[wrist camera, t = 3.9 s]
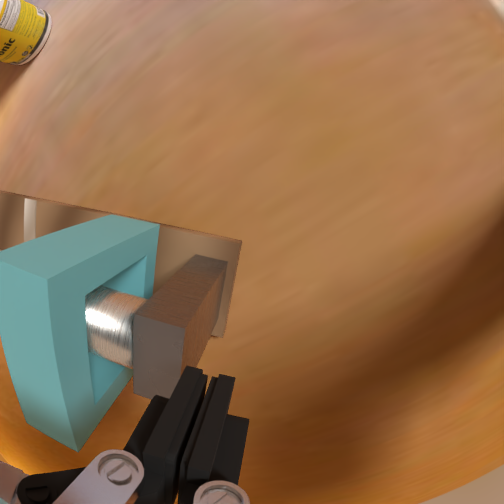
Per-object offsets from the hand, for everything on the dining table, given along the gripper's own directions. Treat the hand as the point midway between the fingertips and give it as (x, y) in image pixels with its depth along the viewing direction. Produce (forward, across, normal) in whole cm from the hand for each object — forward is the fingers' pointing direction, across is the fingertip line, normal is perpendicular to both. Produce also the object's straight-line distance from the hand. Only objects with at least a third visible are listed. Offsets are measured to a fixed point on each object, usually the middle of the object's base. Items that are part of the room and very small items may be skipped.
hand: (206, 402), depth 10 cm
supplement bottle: (+11, +22, -17) cm, 30 cm away
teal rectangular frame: (+7, +6, 0) cm, 9 cm away
